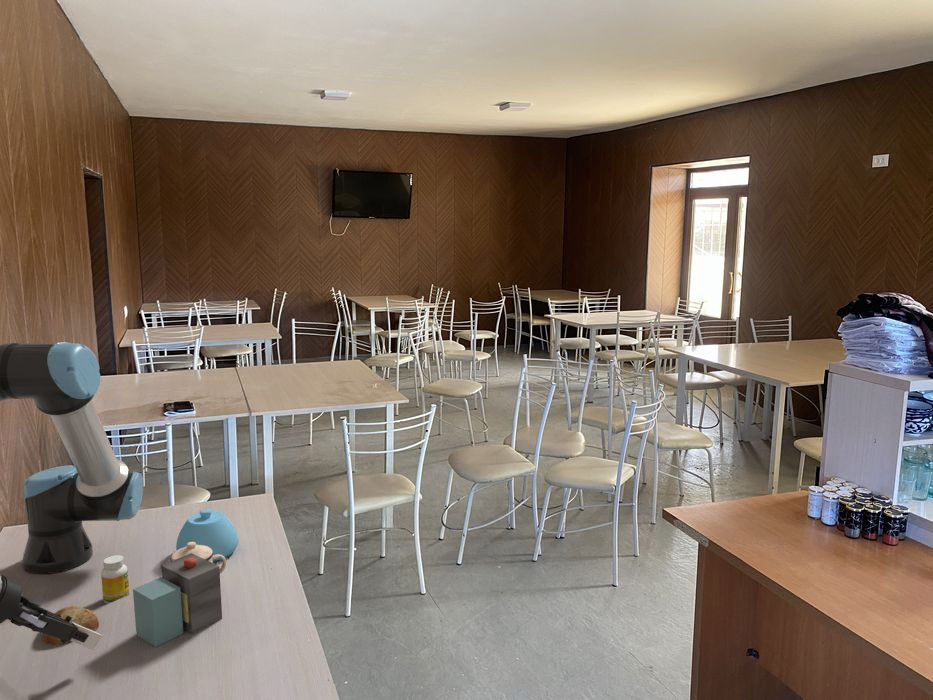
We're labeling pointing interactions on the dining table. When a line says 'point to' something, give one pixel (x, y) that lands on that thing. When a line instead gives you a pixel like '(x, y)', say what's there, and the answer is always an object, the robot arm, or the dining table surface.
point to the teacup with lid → (199, 553)
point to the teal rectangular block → (158, 611)
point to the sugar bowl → (209, 532)
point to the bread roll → (74, 621)
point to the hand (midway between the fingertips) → (96, 641)
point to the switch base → (196, 590)
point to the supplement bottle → (114, 579)
